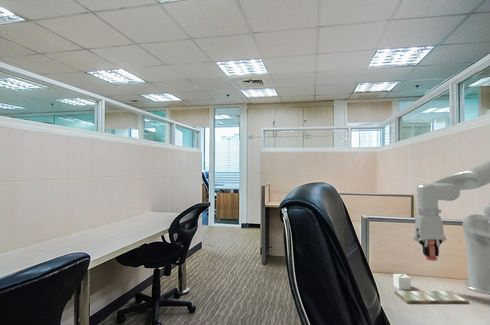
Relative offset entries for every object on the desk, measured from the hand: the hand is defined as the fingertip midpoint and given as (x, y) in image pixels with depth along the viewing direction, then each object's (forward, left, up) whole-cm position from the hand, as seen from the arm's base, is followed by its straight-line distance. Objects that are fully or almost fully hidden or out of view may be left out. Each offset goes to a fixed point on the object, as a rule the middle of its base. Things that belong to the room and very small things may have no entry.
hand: (431, 255), depth 127 cm
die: (+11, -3, -15) cm, 19 cm away
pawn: (0, 0, -2) cm, 2 cm away
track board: (+6, +9, -15) cm, 18 cm away
